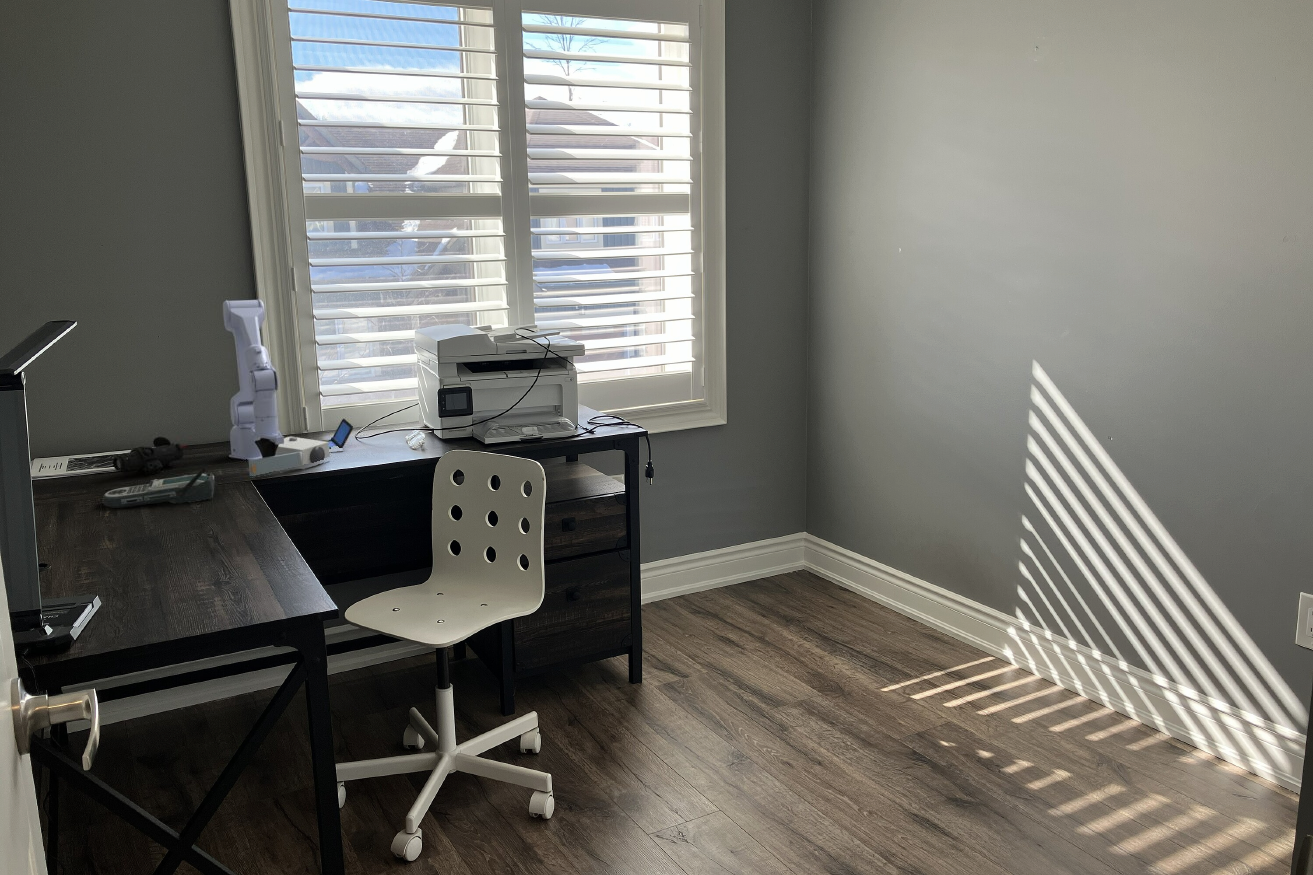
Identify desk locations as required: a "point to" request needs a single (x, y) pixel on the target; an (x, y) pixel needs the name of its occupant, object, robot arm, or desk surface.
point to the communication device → (163, 491)
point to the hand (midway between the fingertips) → (269, 466)
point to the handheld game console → (340, 434)
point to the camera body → (305, 449)
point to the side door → (275, 463)
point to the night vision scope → (149, 457)
